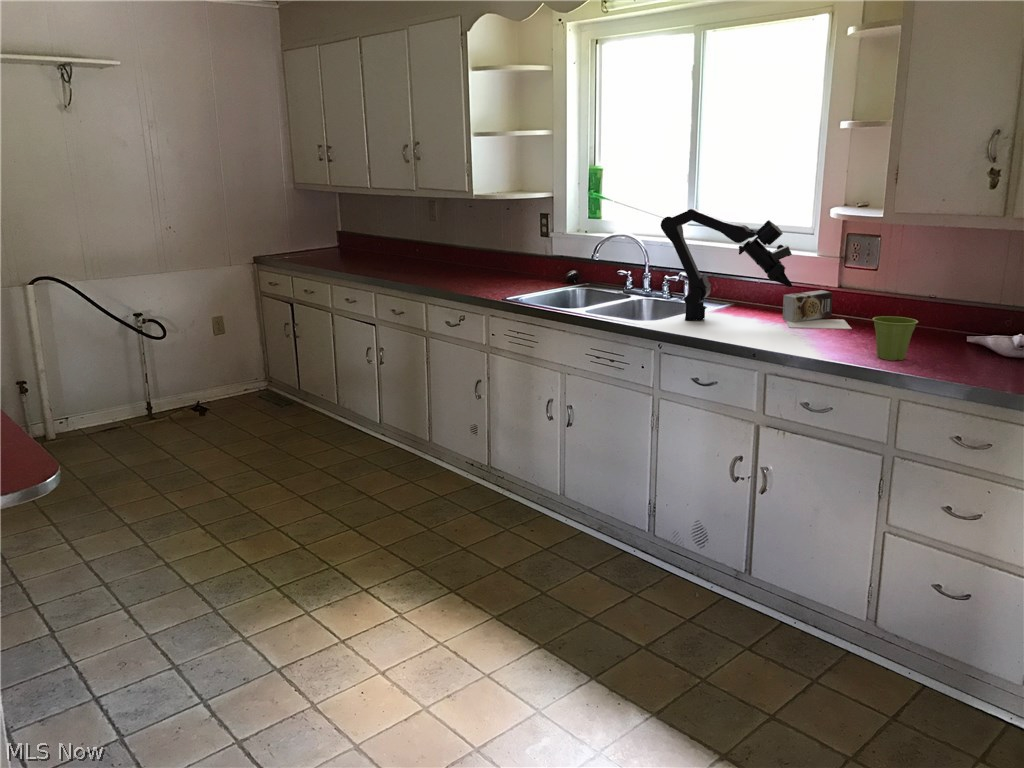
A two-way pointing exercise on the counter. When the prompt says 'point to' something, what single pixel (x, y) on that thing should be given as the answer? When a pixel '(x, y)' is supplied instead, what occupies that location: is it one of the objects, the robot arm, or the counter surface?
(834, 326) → the mat
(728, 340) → the counter surface
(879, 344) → the plant pot
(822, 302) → the cookie box
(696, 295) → the robot arm
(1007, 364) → the counter surface
